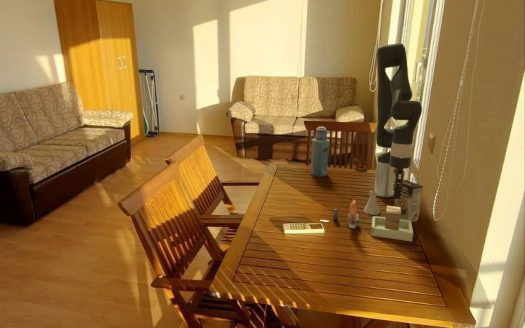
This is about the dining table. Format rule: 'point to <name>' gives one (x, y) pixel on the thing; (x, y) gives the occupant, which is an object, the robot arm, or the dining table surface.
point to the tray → (380, 231)
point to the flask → (372, 204)
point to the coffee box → (409, 201)
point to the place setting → (359, 166)
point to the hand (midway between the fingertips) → (396, 194)
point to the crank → (353, 215)
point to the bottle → (320, 153)
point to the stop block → (392, 217)
